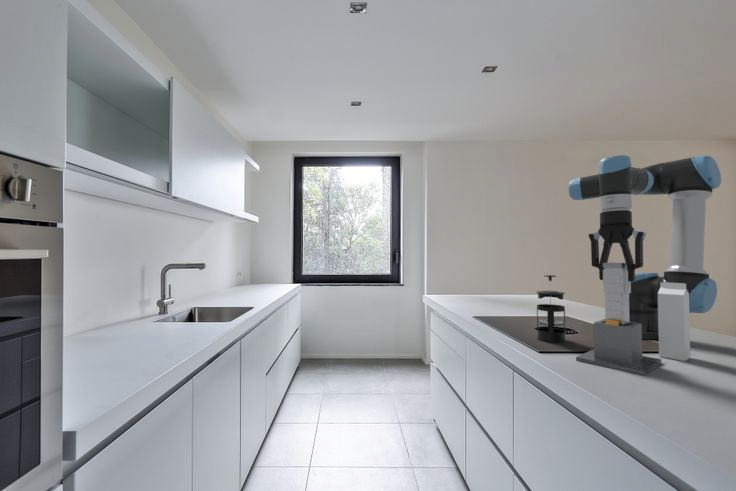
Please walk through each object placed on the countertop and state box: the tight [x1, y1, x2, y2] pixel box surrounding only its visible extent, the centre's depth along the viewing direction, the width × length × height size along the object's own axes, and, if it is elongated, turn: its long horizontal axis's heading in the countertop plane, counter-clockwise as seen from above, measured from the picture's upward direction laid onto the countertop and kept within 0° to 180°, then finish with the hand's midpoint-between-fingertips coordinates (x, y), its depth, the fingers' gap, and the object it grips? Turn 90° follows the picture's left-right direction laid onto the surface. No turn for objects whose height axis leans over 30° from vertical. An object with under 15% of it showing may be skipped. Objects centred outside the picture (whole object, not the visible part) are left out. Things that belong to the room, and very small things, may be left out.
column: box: [603, 261, 630, 326], centre depth 101 cm, size 7×4×20 cm, turn 129°
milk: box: [658, 282, 691, 362], centre depth 105 cm, size 6×6×22 cm
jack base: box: [575, 318, 662, 376], centre depth 101 cm, size 16×16×12 cm
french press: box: [536, 274, 567, 344], centre depth 127 cm, size 12×9×23 cm
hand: (616, 292), depth 101 cm, fingers closed on column, 4 cm apart
